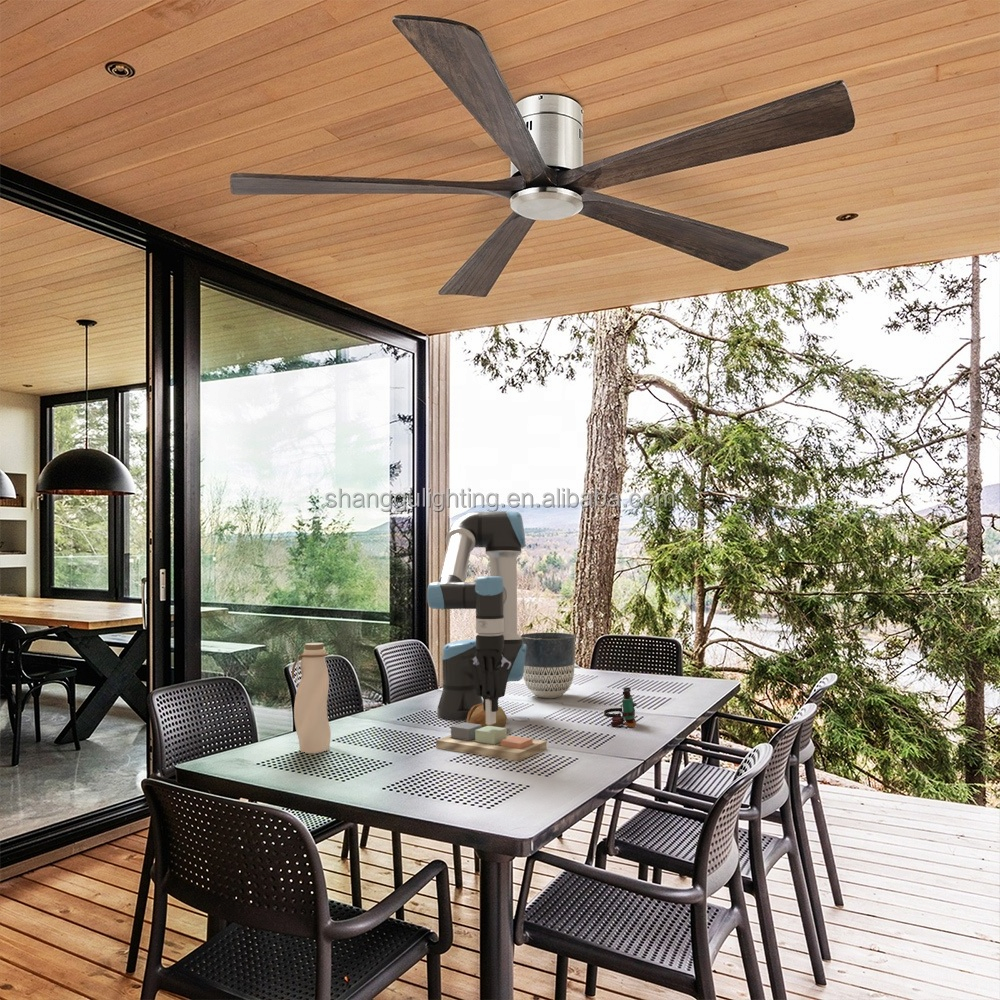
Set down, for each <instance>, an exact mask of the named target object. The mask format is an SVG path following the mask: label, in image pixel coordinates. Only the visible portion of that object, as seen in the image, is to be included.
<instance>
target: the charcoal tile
mask: <svg viewBox="0 0 1000 1000" xmlns="http://www.w3.org/2000/svg"><path fill="white" fill-rule="evenodd" d="M480 728H482V725H480V724H473V723H467V721H466V722H465V721H464V722H461V723H458V724H454V725H451V726H450V735H451V738H455V739H462V740H465V741H467V740H468V741H470V740H472V739H475V730H477V729H480Z"/></svg>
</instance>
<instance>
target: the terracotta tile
mask: <svg viewBox="0 0 1000 1000" xmlns="http://www.w3.org/2000/svg"><path fill="white" fill-rule="evenodd" d="M510 736H511V737H509V738H506V739H504V740H501V746H503V747H509V748H516V749H523V748H525V747H528V746H530V745H532V739H533V738H531V737H524V736H523V737H522V736H517V735H510Z"/></svg>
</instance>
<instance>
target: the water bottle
mask: <svg viewBox="0 0 1000 1000" xmlns="http://www.w3.org/2000/svg"><path fill="white" fill-rule="evenodd" d="M325 649H326V648H325V647H324V642H308V643H307V642H306V643H304V649H303V652H302V653H301V654H297V658H296V659H295V661H294V662H293V665H292V669H291V678H292V679H295V668H296V679H295V683H296V684H297V683H298V682H299V684H298V685H297V689H296V693H295V697H294V707H293V718H294V719H293V720H294V726H295V730H296V735H297V739H298V743H299V752H300V751H301V752H300V753H302V752H305V753H304V754H318V753H317V752H320V753H323V752H322V751H325V752H327V751H329V750H330V747H331V746H330V745H331V735H332V732H331V725H330V722H329V719H328V697H329V687H330V678H329V670H328V665H327V663H326V662H327V661H326V657H327V656H329V652H326V650H325ZM300 659H301V661H300ZM296 665H297V666H296ZM299 665H300V666H299ZM299 668H300V669H299ZM299 670H300V673H301V678H300V681H299ZM328 749H329V750H328ZM326 750H327V751H326Z"/></svg>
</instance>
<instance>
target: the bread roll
mask: <svg viewBox="0 0 1000 1000" xmlns="http://www.w3.org/2000/svg"><path fill="white" fill-rule="evenodd" d="M507 716H508V715H507V714H506V712H505V710H504V709H503V707H501V706H499V705H498V711H496V723H494V724H492V725H487V724H486V711H484V709H483V703H481V704H477V705H475V706H473V707H472V708H471V709H470V711H469V713H468V716H467V719H466V723H473V724H480V725H482V728H483V727H485V726H494V727H501V728H506V726H507V724H508V717H507Z"/></svg>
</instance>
